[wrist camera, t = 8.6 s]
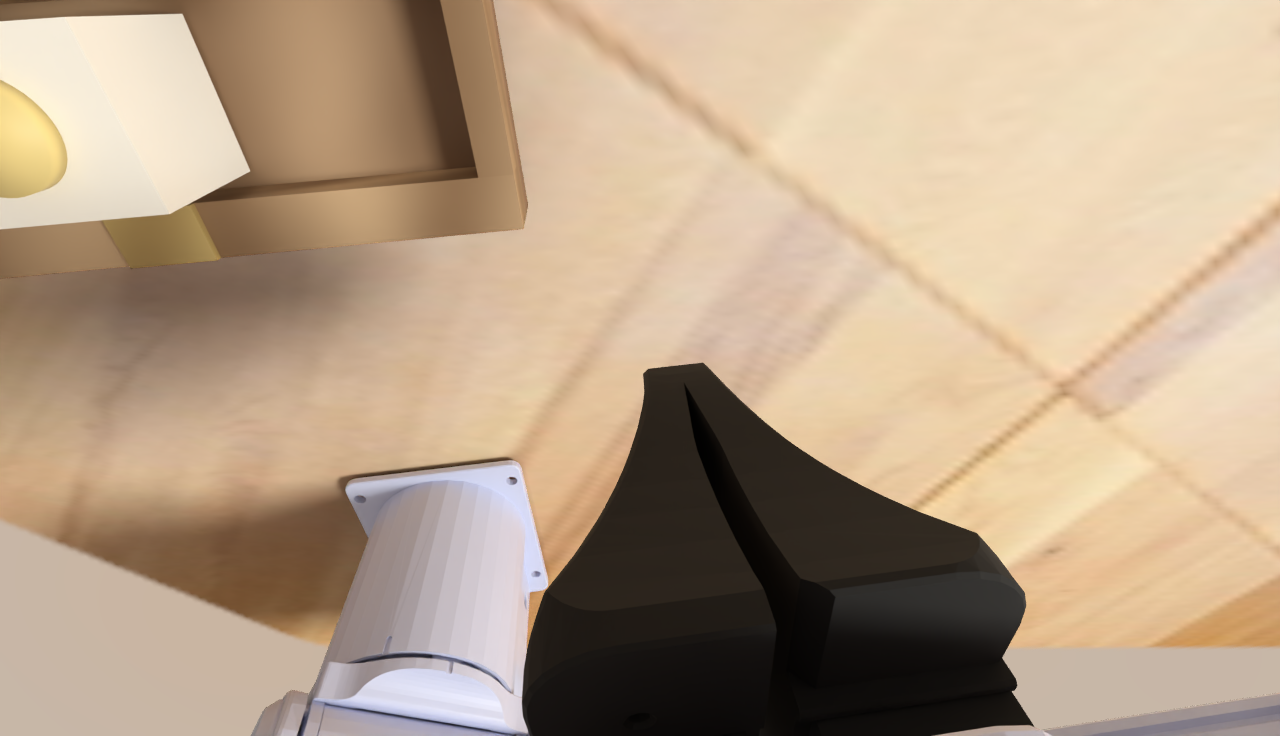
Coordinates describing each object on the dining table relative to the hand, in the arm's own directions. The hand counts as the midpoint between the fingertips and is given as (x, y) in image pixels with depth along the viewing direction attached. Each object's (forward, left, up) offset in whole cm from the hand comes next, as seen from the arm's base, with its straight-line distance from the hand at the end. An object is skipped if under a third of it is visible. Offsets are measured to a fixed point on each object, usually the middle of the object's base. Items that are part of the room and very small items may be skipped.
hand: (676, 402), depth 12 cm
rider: (+6, +14, -8) cm, 17 cm away
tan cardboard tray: (+6, +11, -10) cm, 16 cm away
